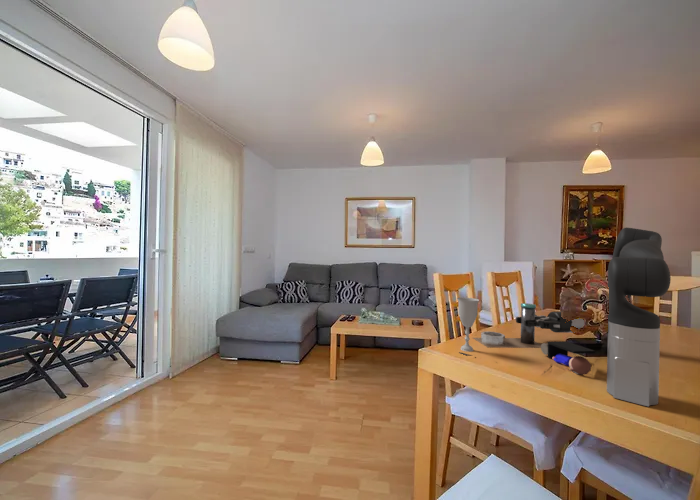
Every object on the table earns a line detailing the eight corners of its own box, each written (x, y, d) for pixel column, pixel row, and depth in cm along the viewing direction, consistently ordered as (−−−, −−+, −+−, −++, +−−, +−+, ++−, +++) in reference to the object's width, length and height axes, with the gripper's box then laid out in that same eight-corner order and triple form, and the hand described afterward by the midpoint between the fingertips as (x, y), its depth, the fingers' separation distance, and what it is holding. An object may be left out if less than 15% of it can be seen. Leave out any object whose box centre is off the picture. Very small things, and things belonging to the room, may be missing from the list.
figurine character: (539, 363, 101) (575, 376, 86) (538, 338, 102) (573, 348, 87) (559, 363, 101) (599, 377, 86) (558, 339, 102) (597, 348, 87)
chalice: (451, 350, 107) (452, 297, 107) (468, 349, 109) (469, 297, 109) (465, 357, 100) (466, 301, 100) (482, 355, 102) (484, 300, 102)
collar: (500, 346, 109) (500, 338, 109) (478, 342, 114) (478, 333, 114) (507, 342, 114) (507, 334, 114) (485, 338, 120) (486, 330, 120)
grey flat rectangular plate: (527, 341, 121) (527, 338, 121) (549, 351, 109) (549, 347, 109) (471, 340, 120) (471, 337, 120) (487, 350, 108) (487, 347, 108)
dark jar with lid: (533, 345, 112) (534, 306, 112) (518, 342, 115) (519, 304, 115) (536, 342, 115) (537, 304, 115) (521, 340, 118) (522, 302, 118)
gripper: (551, 308, 123) (509, 307, 122) (581, 315, 109) (533, 315, 108) (551, 327, 123) (509, 327, 122) (580, 337, 109) (532, 337, 108)
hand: (520, 321), depth 115 cm, fingers closed on dark jar with lid, 4 cm apart
